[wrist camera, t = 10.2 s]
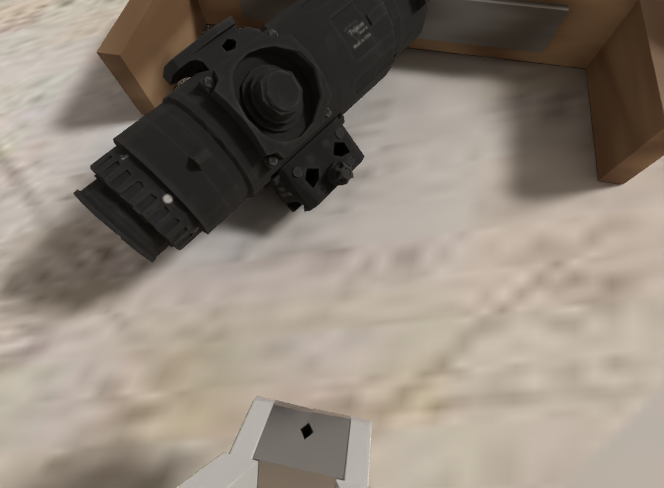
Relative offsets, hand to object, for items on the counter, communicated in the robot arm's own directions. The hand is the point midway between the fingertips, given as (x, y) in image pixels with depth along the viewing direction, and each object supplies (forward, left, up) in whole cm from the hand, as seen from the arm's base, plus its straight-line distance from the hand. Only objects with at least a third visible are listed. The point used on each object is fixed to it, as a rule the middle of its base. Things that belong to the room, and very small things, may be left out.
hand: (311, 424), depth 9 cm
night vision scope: (-4, +12, -6) cm, 14 cm away
